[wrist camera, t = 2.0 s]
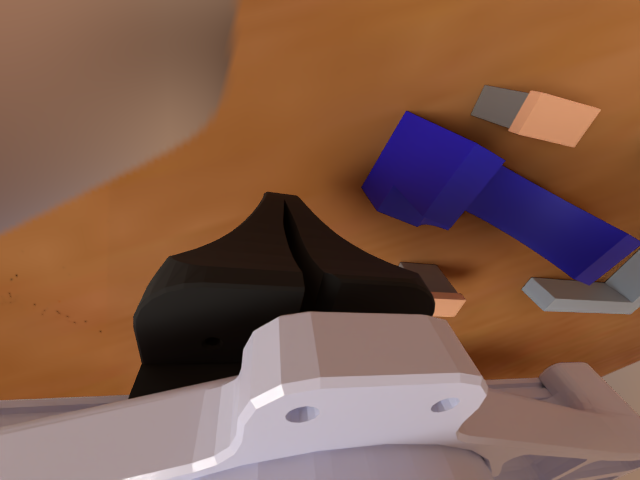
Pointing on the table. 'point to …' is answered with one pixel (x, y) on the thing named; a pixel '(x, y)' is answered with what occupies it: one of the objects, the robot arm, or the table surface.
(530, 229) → the blue stepped bar
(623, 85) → the table surface
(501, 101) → the posts
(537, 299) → the grey bent bracket
